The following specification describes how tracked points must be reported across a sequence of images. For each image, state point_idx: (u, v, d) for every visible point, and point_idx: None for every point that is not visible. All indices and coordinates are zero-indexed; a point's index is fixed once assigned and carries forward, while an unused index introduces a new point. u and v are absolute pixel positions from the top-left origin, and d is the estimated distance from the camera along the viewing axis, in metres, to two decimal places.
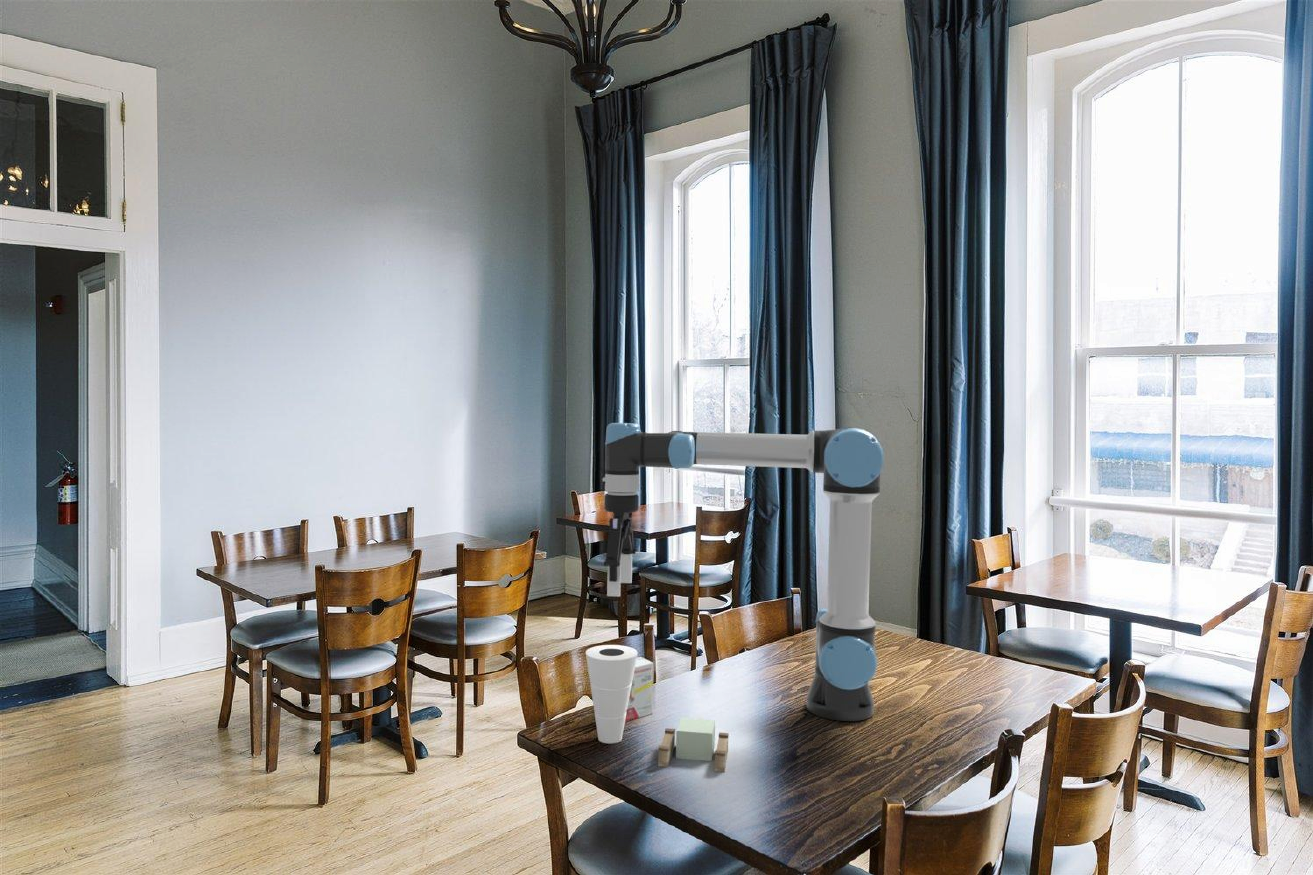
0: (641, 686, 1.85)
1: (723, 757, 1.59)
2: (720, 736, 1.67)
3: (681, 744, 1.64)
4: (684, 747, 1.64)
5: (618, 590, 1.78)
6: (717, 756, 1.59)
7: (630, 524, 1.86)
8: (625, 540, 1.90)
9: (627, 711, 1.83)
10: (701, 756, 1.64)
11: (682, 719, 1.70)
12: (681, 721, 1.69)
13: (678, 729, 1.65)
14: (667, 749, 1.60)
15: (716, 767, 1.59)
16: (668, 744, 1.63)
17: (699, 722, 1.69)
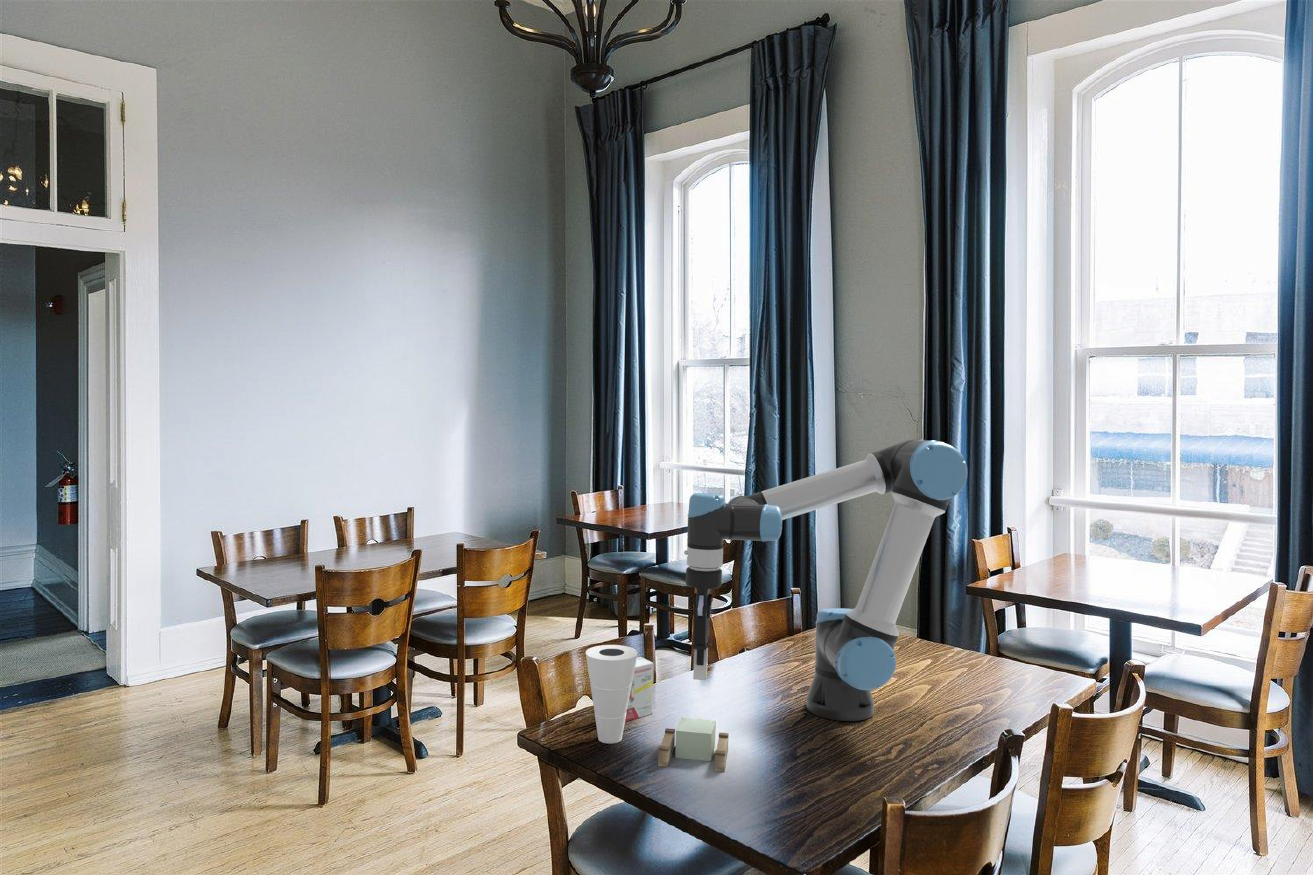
0: (641, 686, 1.85)
1: (723, 757, 1.59)
2: (720, 736, 1.67)
3: (680, 744, 1.64)
4: (683, 747, 1.64)
5: (705, 674, 1.76)
6: (717, 756, 1.59)
7: (712, 598, 1.77)
8: None
9: (627, 711, 1.83)
10: (700, 756, 1.64)
11: (682, 719, 1.70)
12: (681, 721, 1.69)
13: (678, 729, 1.65)
14: (667, 749, 1.60)
15: (716, 767, 1.59)
16: (668, 744, 1.63)
17: (699, 722, 1.69)
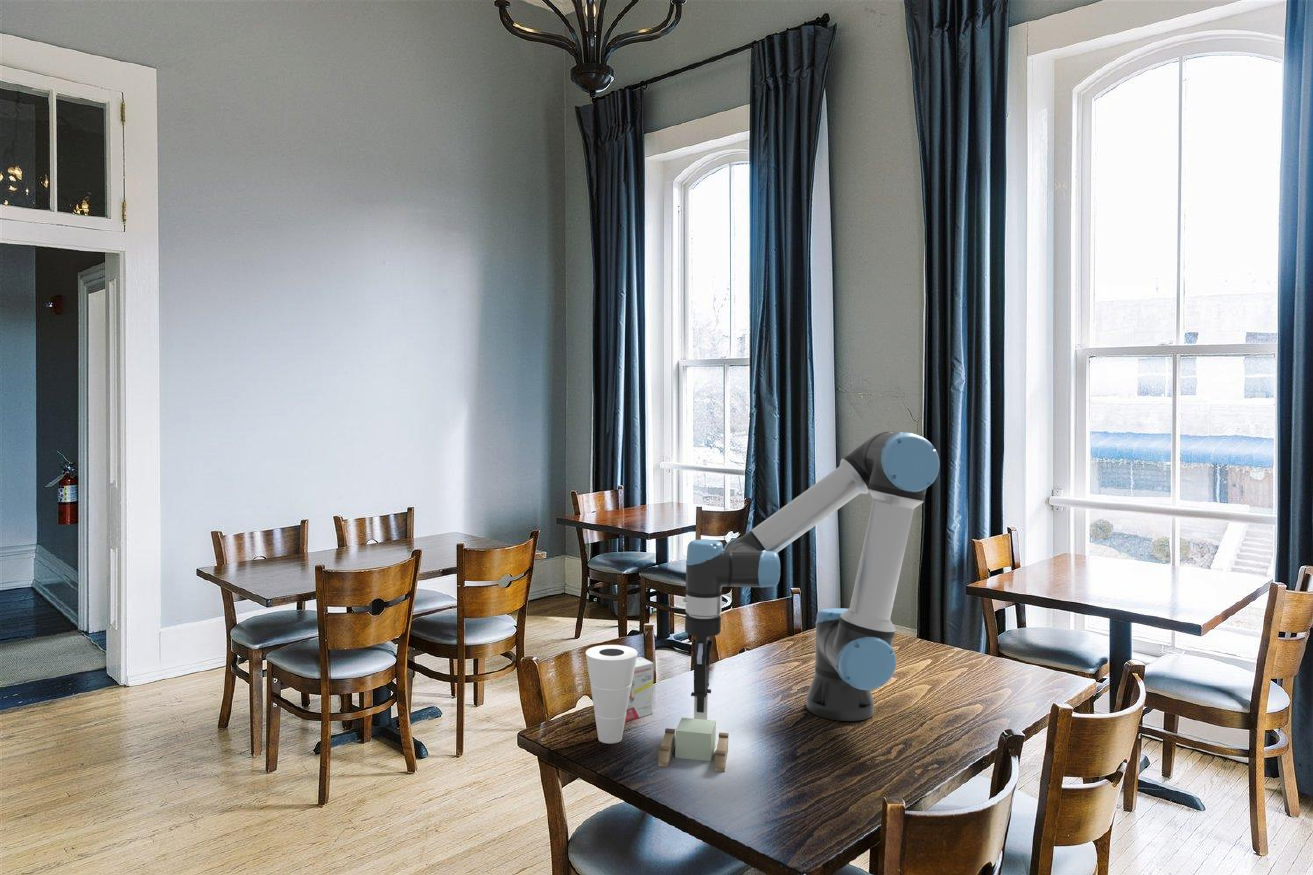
0: (641, 686, 1.85)
1: (723, 757, 1.59)
2: (720, 736, 1.67)
3: (680, 744, 1.64)
4: (683, 746, 1.64)
5: None
6: (717, 756, 1.59)
7: (711, 645, 1.77)
8: None
9: (627, 711, 1.83)
10: (700, 756, 1.64)
11: (682, 719, 1.70)
12: (681, 721, 1.69)
13: (677, 729, 1.65)
14: (667, 749, 1.60)
15: (716, 767, 1.59)
16: (668, 744, 1.63)
17: (699, 722, 1.69)
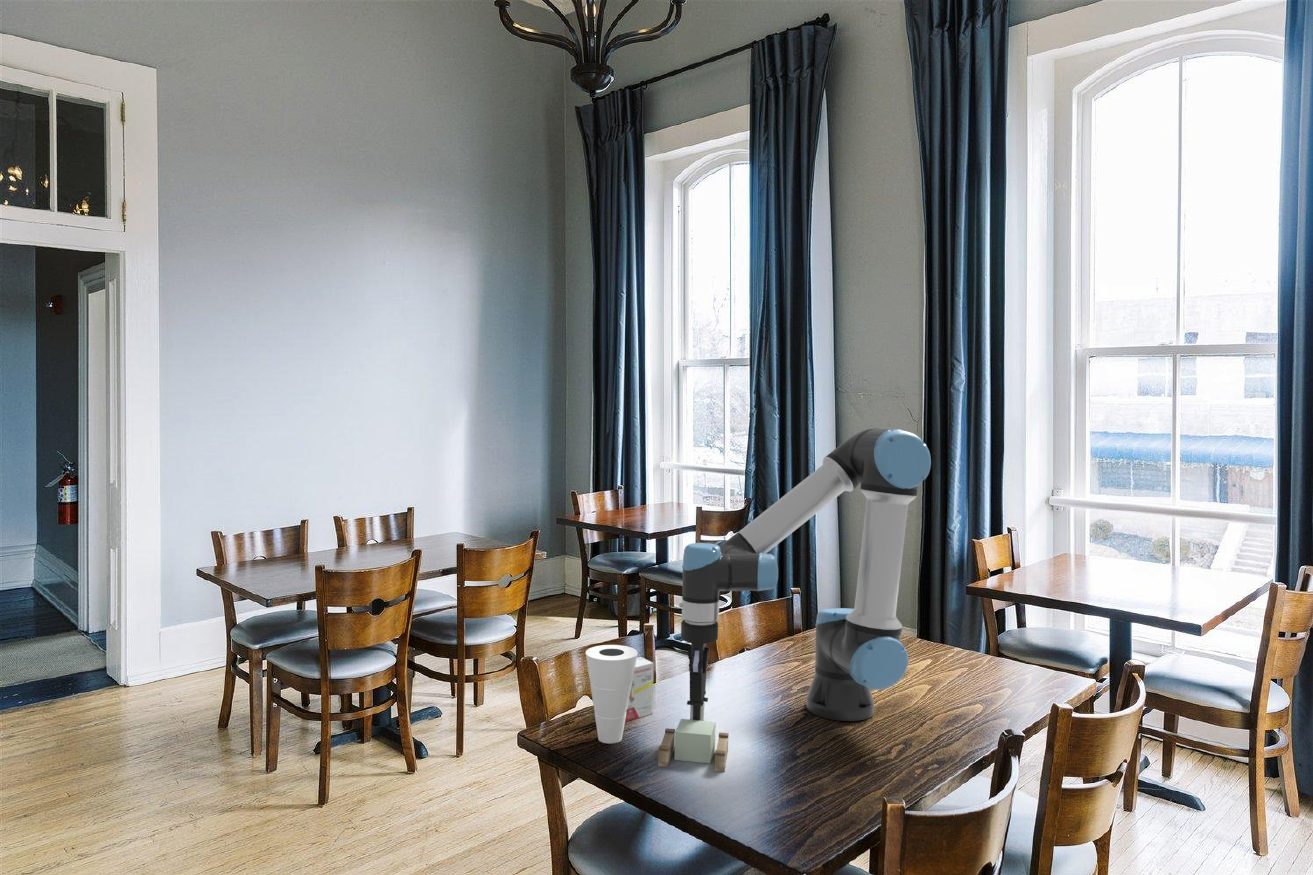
0: (641, 686, 1.85)
1: (723, 757, 1.59)
2: (720, 736, 1.67)
3: (679, 745, 1.63)
4: (682, 748, 1.63)
5: None
6: (717, 756, 1.59)
7: (708, 652, 1.71)
8: None
9: (627, 711, 1.83)
10: (700, 758, 1.63)
11: (682, 720, 1.69)
12: (681, 722, 1.68)
13: (677, 730, 1.64)
14: (667, 749, 1.60)
15: (716, 767, 1.59)
16: (668, 744, 1.63)
17: (699, 723, 1.68)
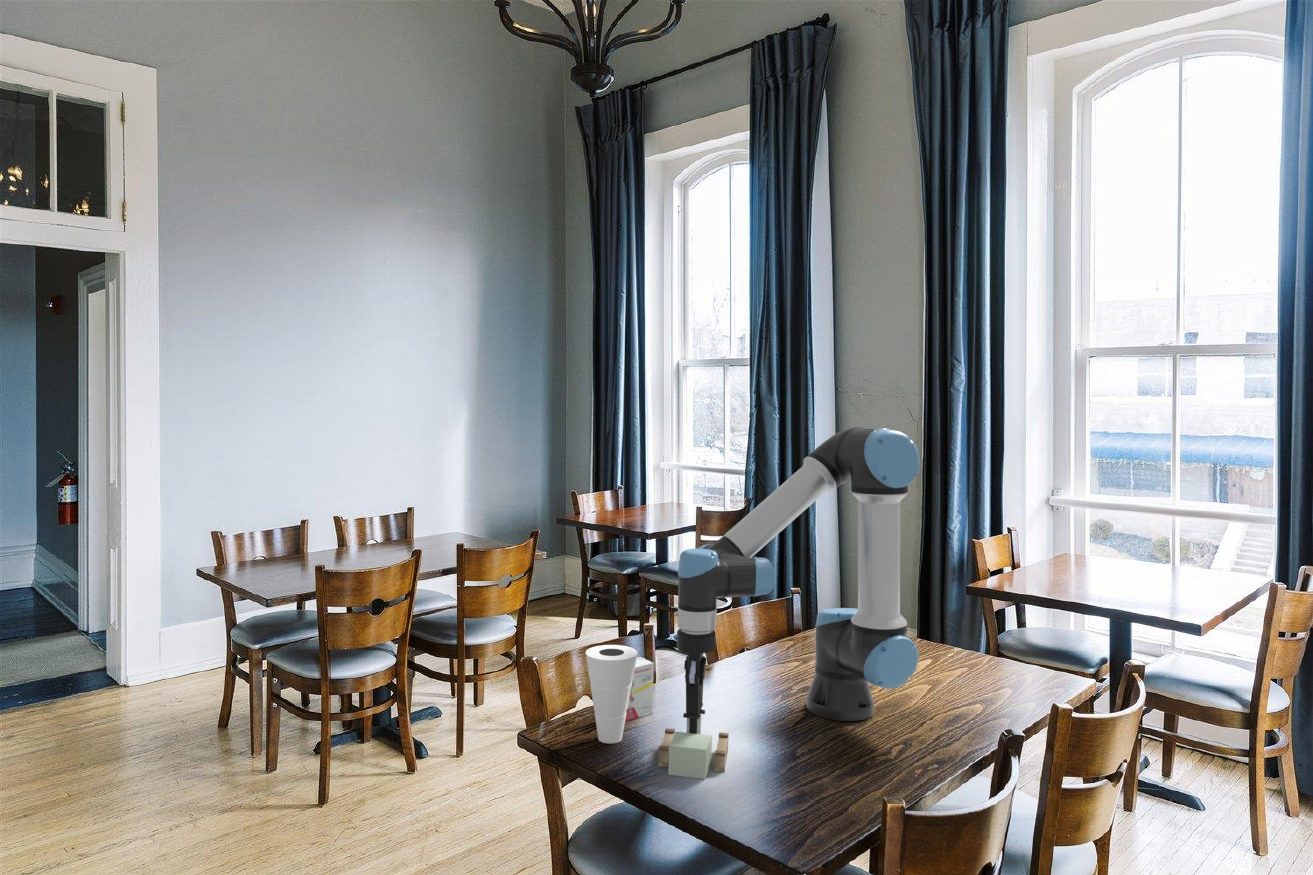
0: (641, 686, 1.85)
1: (723, 757, 1.59)
2: (720, 736, 1.67)
3: (673, 760, 1.56)
4: (677, 763, 1.56)
5: None
6: (717, 756, 1.59)
7: (705, 662, 1.64)
8: None
9: (627, 711, 1.83)
10: (694, 773, 1.56)
11: (677, 733, 1.62)
12: (675, 735, 1.61)
13: (671, 744, 1.57)
14: (667, 749, 1.60)
15: (716, 767, 1.59)
16: (668, 744, 1.63)
17: (694, 737, 1.61)
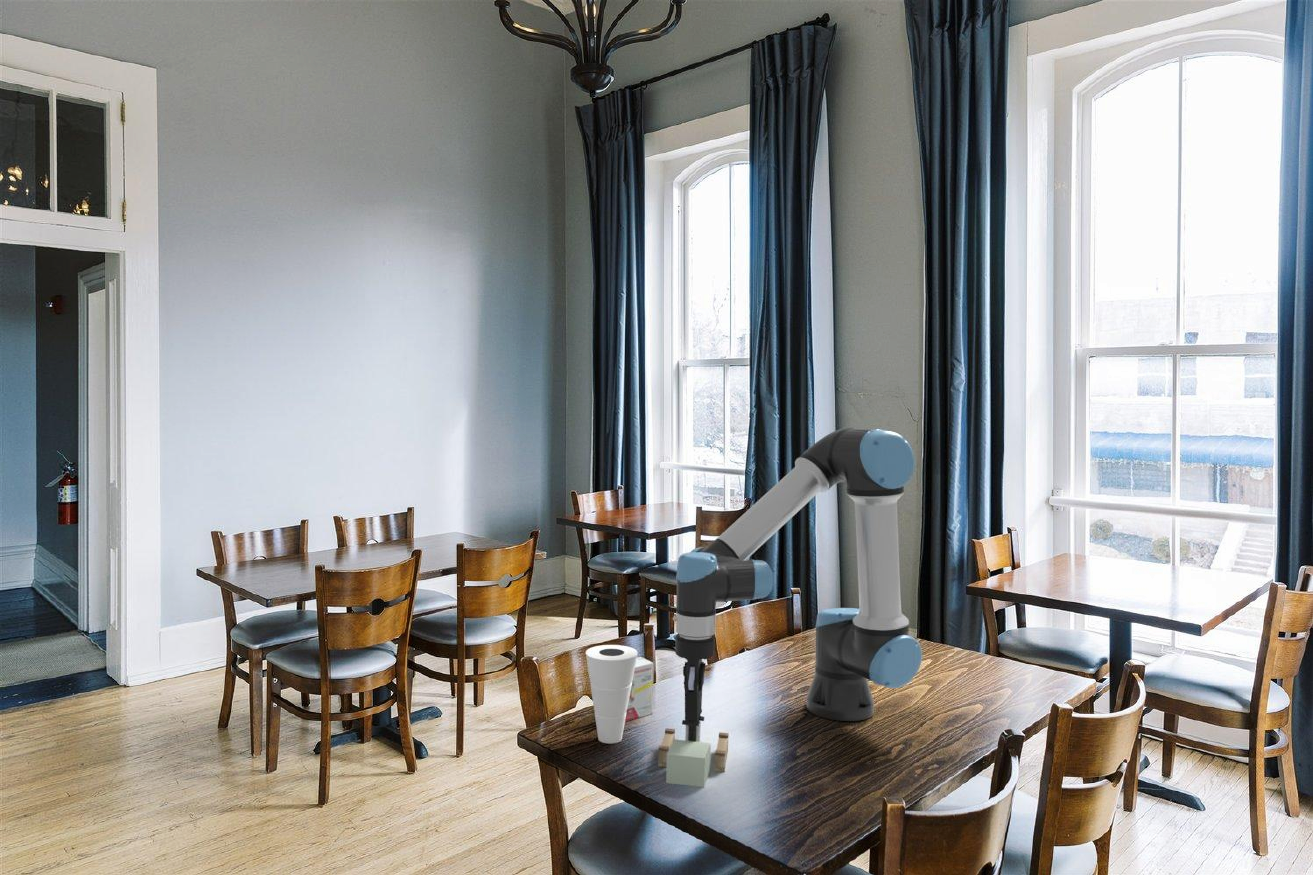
0: (641, 686, 1.85)
1: (723, 757, 1.59)
2: (720, 736, 1.67)
3: (671, 769, 1.53)
4: (675, 771, 1.53)
5: None
6: (717, 756, 1.59)
7: (704, 668, 1.61)
8: None
9: (627, 711, 1.83)
10: (693, 782, 1.52)
11: (675, 741, 1.59)
12: (674, 743, 1.58)
13: (669, 752, 1.54)
14: (667, 749, 1.60)
15: (716, 767, 1.59)
16: (668, 744, 1.63)
17: (693, 745, 1.58)
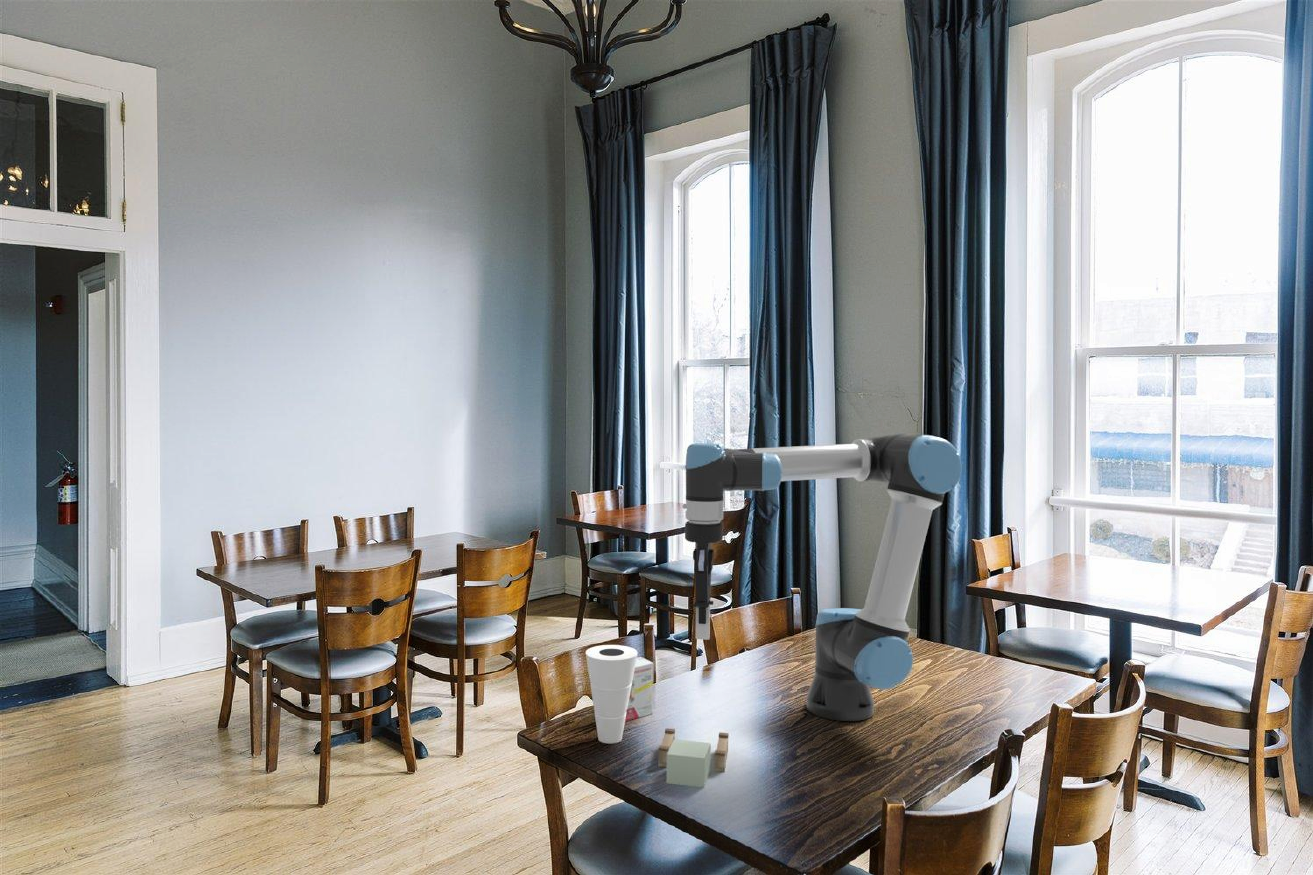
0: (641, 686, 1.85)
1: (723, 757, 1.59)
2: (720, 736, 1.67)
3: (671, 769, 1.53)
4: (675, 771, 1.53)
5: (707, 633, 1.67)
6: (717, 756, 1.59)
7: (713, 553, 1.68)
8: None
9: (627, 711, 1.83)
10: (693, 782, 1.52)
11: (675, 741, 1.59)
12: (674, 743, 1.58)
13: (669, 752, 1.54)
14: (667, 749, 1.60)
15: (716, 767, 1.59)
16: (668, 744, 1.63)
17: (693, 745, 1.58)
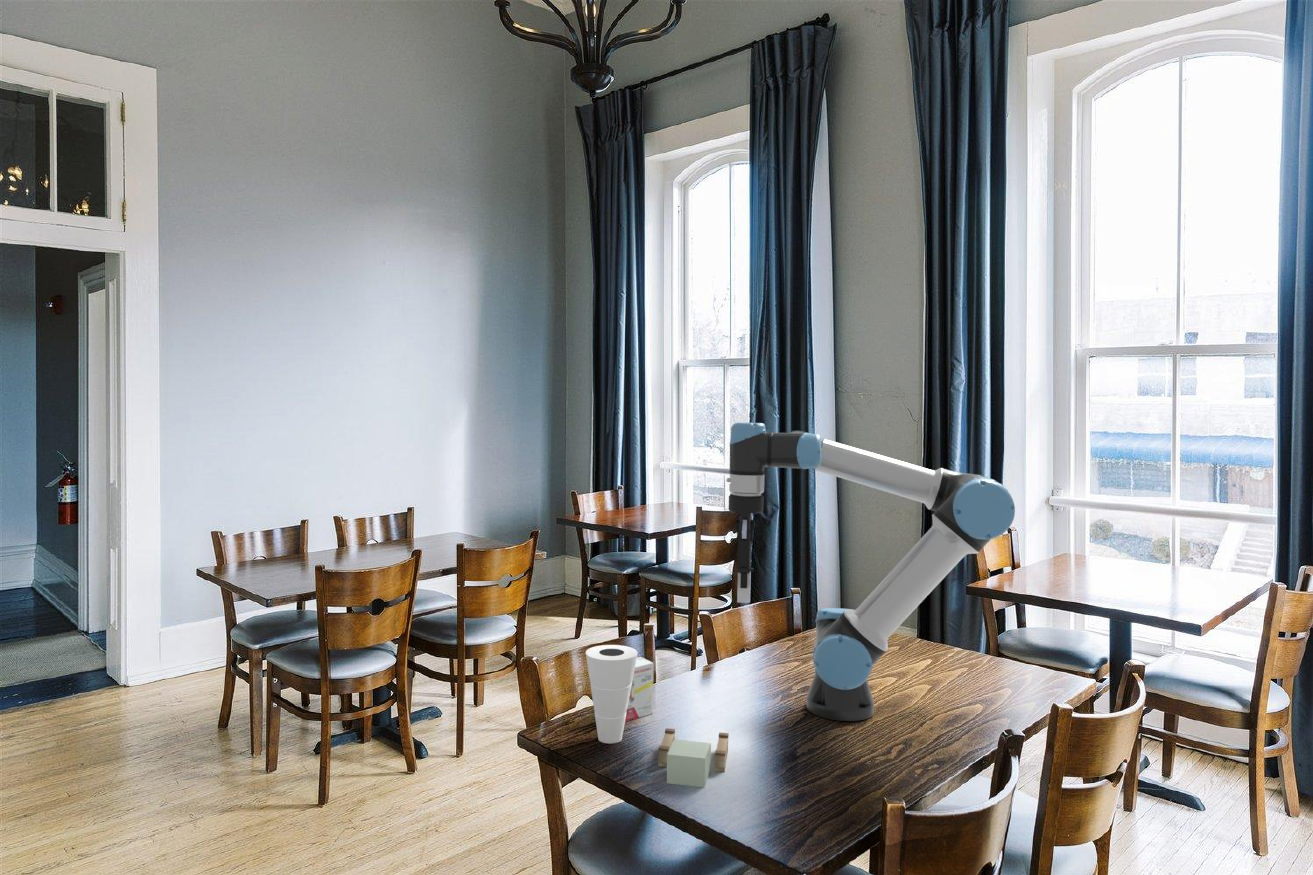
0: (641, 686, 1.85)
1: (723, 757, 1.59)
2: (720, 736, 1.67)
3: (672, 769, 1.53)
4: (675, 771, 1.53)
5: (748, 597, 1.82)
6: (717, 756, 1.59)
7: (754, 524, 1.83)
8: None
9: (627, 711, 1.83)
10: (693, 782, 1.52)
11: (675, 741, 1.59)
12: (674, 743, 1.58)
13: (669, 752, 1.54)
14: (667, 749, 1.60)
15: (716, 767, 1.59)
16: (668, 744, 1.63)
17: (693, 745, 1.58)
